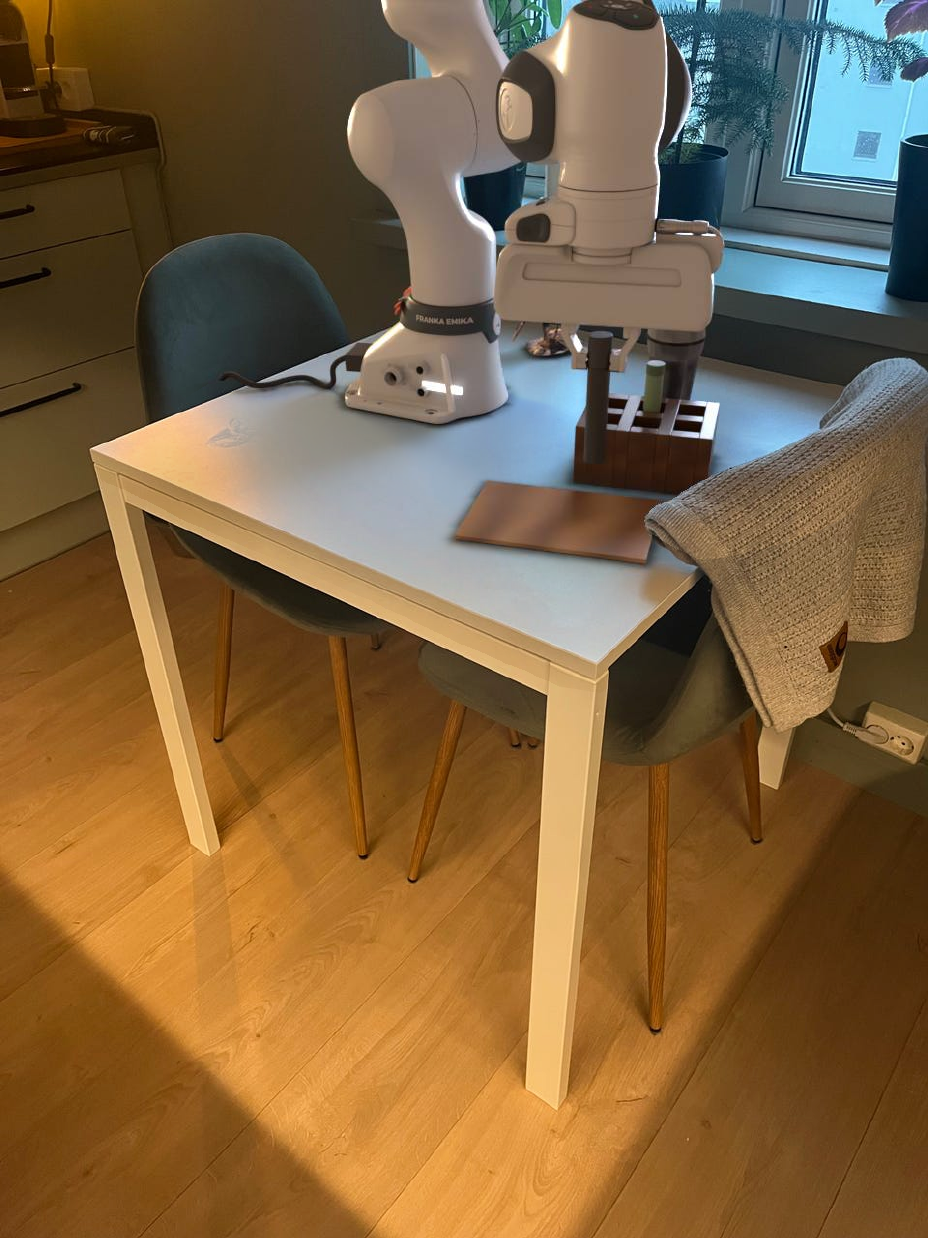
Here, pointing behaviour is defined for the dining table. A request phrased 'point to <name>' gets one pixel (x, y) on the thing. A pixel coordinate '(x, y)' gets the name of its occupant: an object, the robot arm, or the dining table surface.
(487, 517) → the brown wooden board
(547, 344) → the mottled grey tall piece
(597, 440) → the black marker
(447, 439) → the dining table surface
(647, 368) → the sage marker
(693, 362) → the beverage cup
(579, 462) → the pen stand
